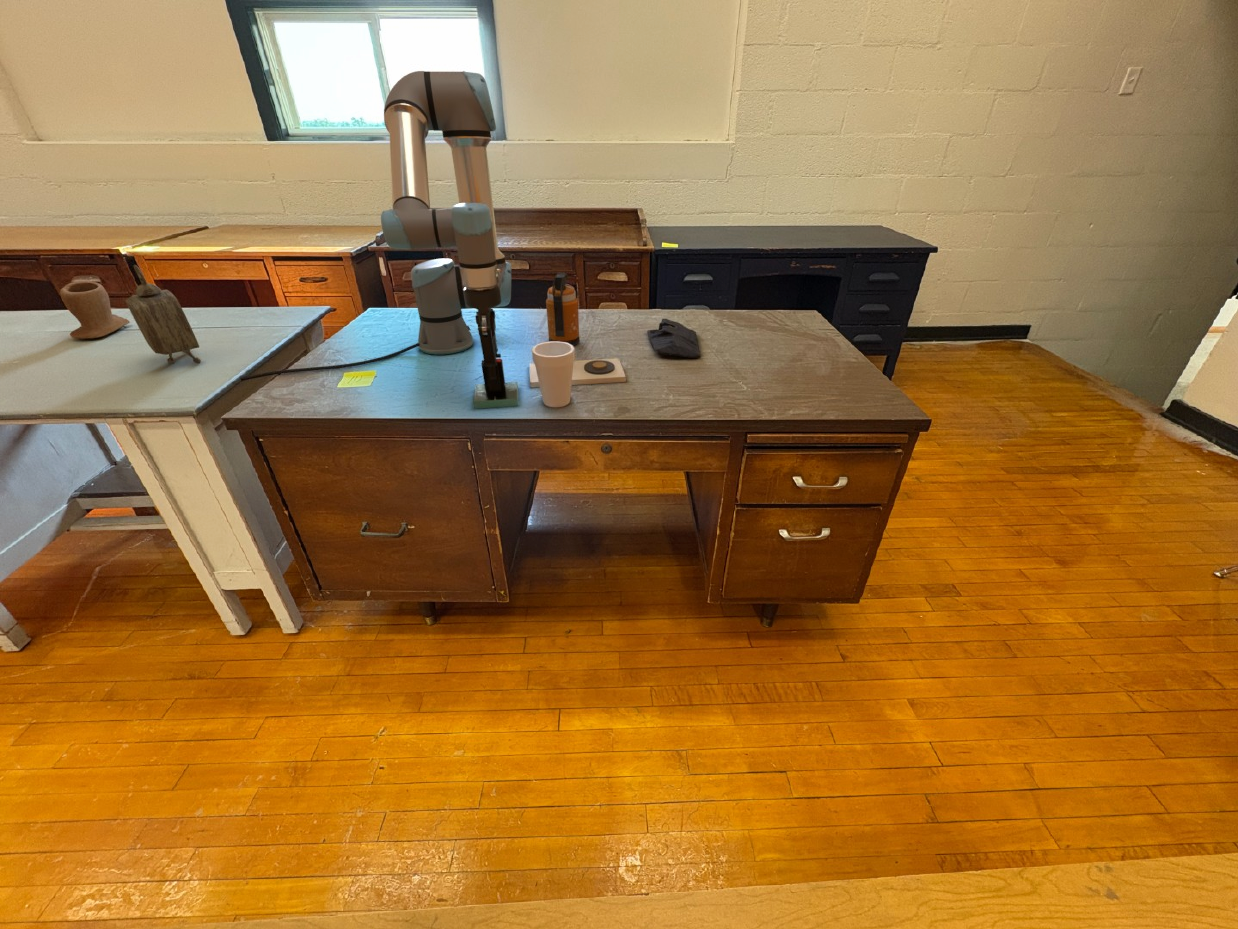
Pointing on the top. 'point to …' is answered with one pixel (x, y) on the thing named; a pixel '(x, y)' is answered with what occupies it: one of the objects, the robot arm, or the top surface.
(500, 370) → the tall black monolith
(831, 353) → the top surface
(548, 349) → the foam cup
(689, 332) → the dark grey folded cloth
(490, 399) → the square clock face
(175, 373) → the top surface
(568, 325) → the canister
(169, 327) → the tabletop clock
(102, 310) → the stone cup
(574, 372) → the hob
